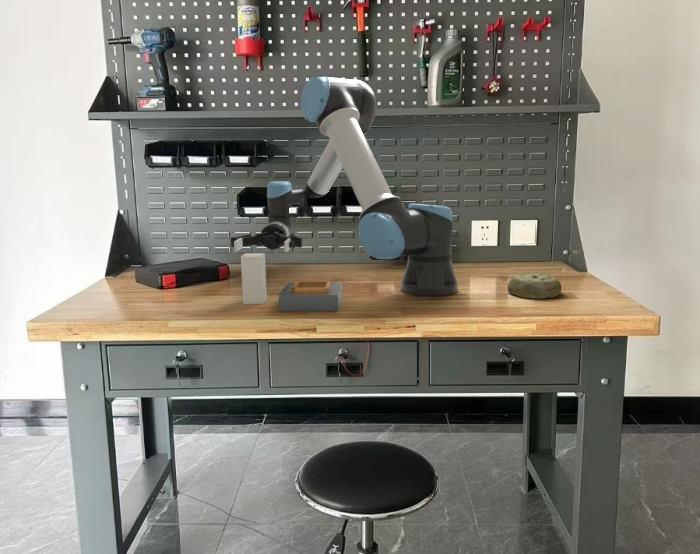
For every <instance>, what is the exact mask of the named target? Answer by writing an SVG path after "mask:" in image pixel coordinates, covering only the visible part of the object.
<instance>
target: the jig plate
mask: <svg viewBox="0 0 700 554" xmlns="http://www.w3.org/2000/svg"><path fill="white" fill-rule="evenodd" d="M342 300H343V282H333V281H332V280H295V282H287V284H286V285H285V286H284V288H283V289H282V290H281V291H280V293H279V294H278V306H279V307H278V309H279V312H311V313H312V312H314V313H315V312H316V313H317V312H319V313H320V312H329V313H330V311H333V312H332V313H335V312H334V311H338V312H339V310H340V307H341V303H342Z"/></svg>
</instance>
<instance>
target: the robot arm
mask: <svg viewBox="0 0 700 554" xmlns="http://www.w3.org/2000/svg"><path fill="white" fill-rule="evenodd" d="M301 92H302V93H301V99H300V111H301V114H302V116H303V118H304V119H305V120H306V121H308V122H310V123H316V125H317V128H318V130H319V132H320V134H321V135H323V136H325V137H328V138H329V140H328V143H327V145H326V147H325V148H324V150H323V152H322V154H321V156H320V158H319V160H318V162H317V163H316V165H315V168H314V169H313V171H312V173H311V175H310V176H309V178H308V180H307V182H306V184H305V185H304V186H292V183H291V182H290V181H284V180H280V181H278V180H275V181H270V182H268V184H267V187H266V189H267V191H266V197H267V198H266V199H267V208H268V207H269V211H270V214H269V215H268V214H267V225H265V227H263V228H262V230H261V232H259V233H255V234H253V233H247V234H243V235H238V236H233V237H230V247H231V248H234V249H233V250H234V253H237V252H239V251H240V250H242V249H243V248H244V247H250V246H254V245H255V246H256V247H261V246H264V247H265V248H267V249H269V250H272V251H273V250H274V251H275V250H278V249H280V248H281V247H284V248H283V249H284V251H283V252H284V253H288V252H289V251H290V250H291V248H293V249H294V248H301V249H302V248H303V238H302V237H299V236H297V235H295V233H294V230H295V229H294V227H295V226H294V224H293V215H292V216H291V215H290V214H289V208H290V206H293V205H300V204H301V203H302V199H303V196H304V194H305V193H306V192H309V198H320V197H323V196H325V195H326V194H327V193H328V192H329V190H331V188H332V186H333V185H334V182H335V181H336V179H337V178H338V176H339V175H340V172H341V171H342V170H344V172H345V176H346V178H347V180H348V182H349V184H350V186H351V188H352V190H353V193H354V195H355V198H356V199H357V201H358V203H359V205H360V207H361V211H360V214H359V219H360V221H359V223H358V227H357V230H358V232H359V233H358V235H357V236H358V241H359V242H360V245H361V247H362V249H363V250H364V252H366V253H367V254H368V255H369V256H371V257H372V258H375V259H377V260H385V259H386V260H394V259H397V258H402V257H407V264H406V267H405V270H404V271H403V272H404V273H403V276H402V277H401V278H402V279H401V281H400V290H401V291H402V292H403V293H406V294H409V295H417V296H427V297H431V296H433V297H436V296H437V297H438V296H447V295H452V294H454V293H456V292H457V291H458V286H459V285H458V280H457V276H456V272H455V270H454V267H453V263H452V252H453V251H452V249H453V248H452V247H453V223H454V220H453V210H452V209H451V208H450V207H448V206H445V205H444V206H443V205H435V204H434V205H432V204H421V203H409V204H408V208H407V209H406V206H405V204H404V201H403V200H402V199H401V197H400V196H397V195H393V193H392V191H391V190H390V186H389V185H388V183H387V181H386V178H385V177H384V174H383V172H382V171H381V169H380V166H379V164H378V162H377V160H376V158H375V156H374V153H373V151H372V150H371V148H370V145H369V142H368V141H367V139H366V136H365V135H367V133H368V132H369V131H370V129H371V126H372V125H373V123H374V121H375V118H376V113H377V100H376V96H375V93H374V91H373V90H372V88H371V87H370V86H369V85H368V84H367V83H365V82H364V81H362V80H360V79H352V78H350V79H349V78H339V77H330V76H325V75H324V76H313V77H312V78H310V79H309V80H308V81H307V82H306V83H305V85H304V87H303V90H302V91H301Z"/></svg>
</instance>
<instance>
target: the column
mask: <svg viewBox="0 0 700 554" xmlns="http://www.w3.org/2000/svg"><path fill="white" fill-rule="evenodd" d="M240 262H241V263H240V267H241V269H240V270H241V287H242V291H241V292H242V304H243V305H263V304H264V303H265V302H266V301H267V299H268V297H267V274H266V273H267V272H266V253H265V252H262V253H260V252H259V253H257V252H255V253H253V252H252V253H249V252H247V253H244V254H242V255H241V256H240Z"/></svg>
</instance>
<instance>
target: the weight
mask: <svg viewBox="0 0 700 554" xmlns="http://www.w3.org/2000/svg"><path fill="white" fill-rule="evenodd" d="M507 292H508V293H509V294H511V295H515V296H517V297H519V298H523V299H535V300H542V299H543V300H544V299H547V298H548V299H549V298H552V299H553V298H555V297H557V296H558V295H560V294H561V293H562V284H561V282H560V281H559V279H558V278H557V277H555V276H554V275H549V274H545V273H537V272H536V273H535V272H534V273H533V272H522V273H516V274H514V275H512V276H511V277H510V279H509V280H508V283H507Z"/></svg>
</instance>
